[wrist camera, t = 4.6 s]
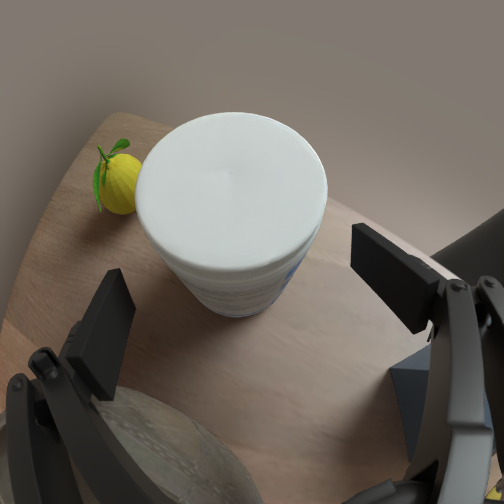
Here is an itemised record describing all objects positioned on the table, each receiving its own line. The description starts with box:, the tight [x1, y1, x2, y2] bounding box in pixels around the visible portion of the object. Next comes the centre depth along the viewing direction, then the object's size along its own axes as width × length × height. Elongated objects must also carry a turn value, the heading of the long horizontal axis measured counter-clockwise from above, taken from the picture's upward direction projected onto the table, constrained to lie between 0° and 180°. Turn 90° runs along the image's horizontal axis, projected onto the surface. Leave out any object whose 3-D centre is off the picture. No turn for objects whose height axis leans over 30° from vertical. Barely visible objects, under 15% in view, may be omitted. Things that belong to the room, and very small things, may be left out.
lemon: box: [93, 139, 142, 215], centre depth 23 cm, size 7×6×10 cm
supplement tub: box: [135, 112, 327, 317], centre depth 19 cm, size 10×10×15 cm
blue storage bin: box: [390, 317, 497, 462], centre depth 17 cm, size 13×13×10 cm
